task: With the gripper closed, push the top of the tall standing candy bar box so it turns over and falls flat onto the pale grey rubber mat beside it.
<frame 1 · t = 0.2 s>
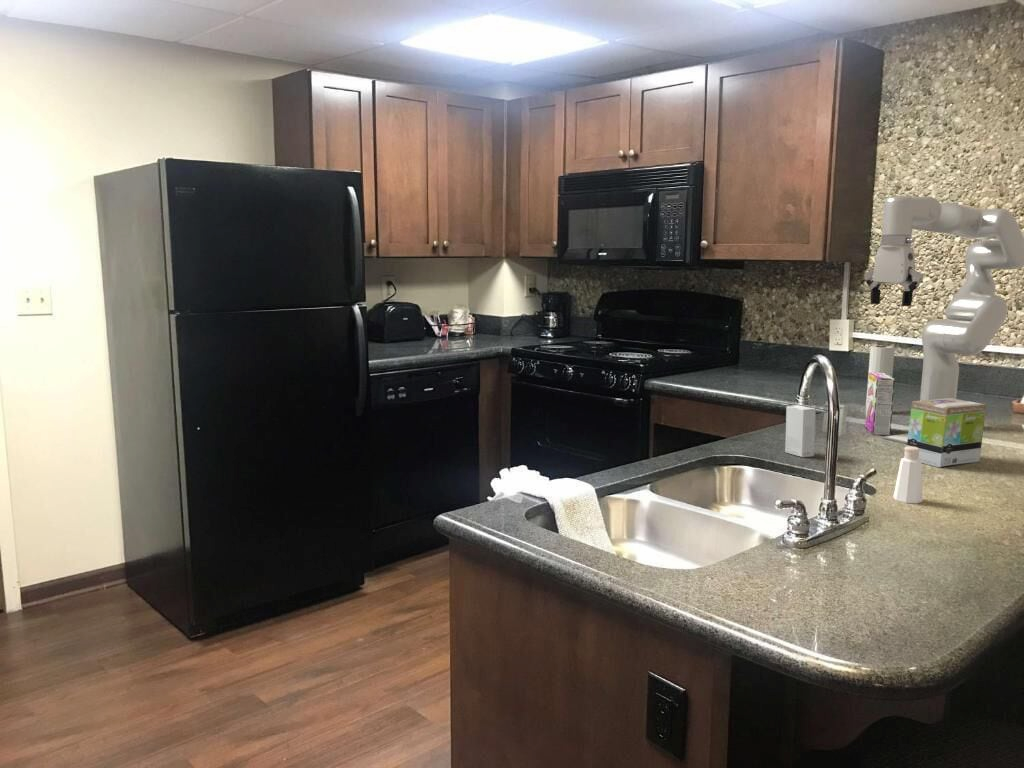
hand: (890, 304, 227), 36 cm above the counter, tool pointing down, fingers open, 9 cm apart
pepper shaker: (907, 500, 168), on the counter
skincare box: (798, 455, 206), on the counter
tea box: (942, 461, 201), on the counter
mat: (923, 442, 221), on the counter
paper towel roll: (877, 412, 264), on the counter
candy bar box: (876, 432, 234), on the counter
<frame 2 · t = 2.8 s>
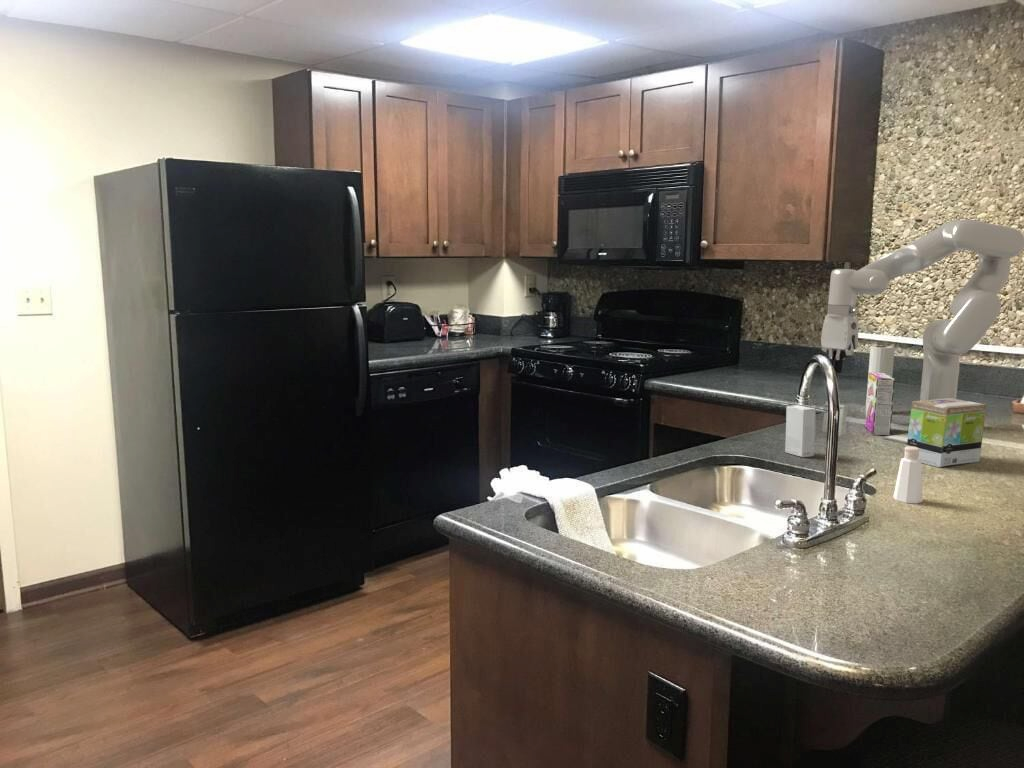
hand: (835, 372, 245), 15 cm above the counter, tool pointing down, fingers closed
nothing on the counter moved.
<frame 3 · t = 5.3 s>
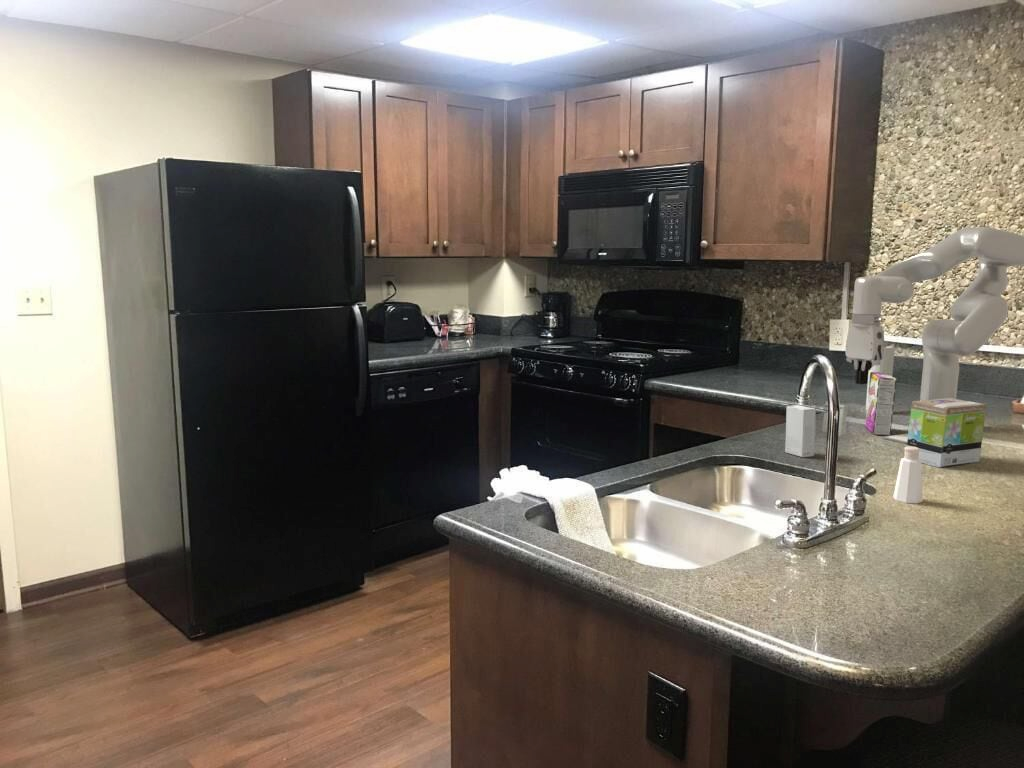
hand: (861, 383, 237), 13 cm above the counter, tool pointing down, fingers closed
nothing on the counter moved.
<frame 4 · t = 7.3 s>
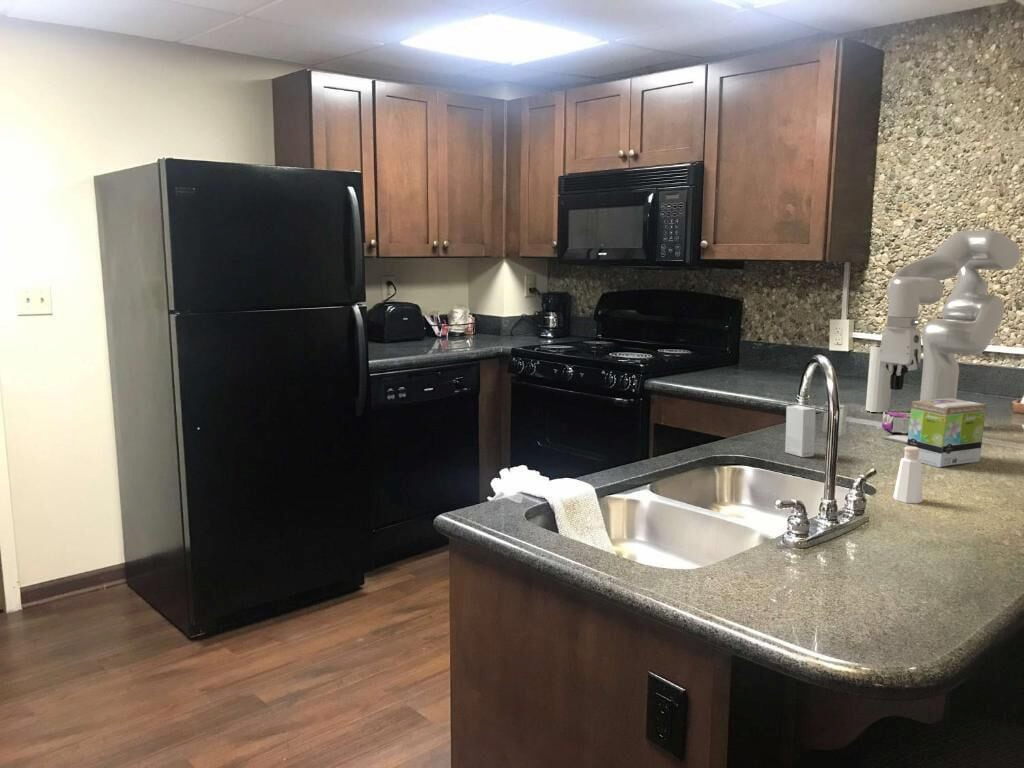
hand: (896, 389, 228), 13 cm above the counter, tool pointing down, fingers closed
candy bar box: (886, 421, 233), point 3 cm above the counter, touching mat
everything else where it was.
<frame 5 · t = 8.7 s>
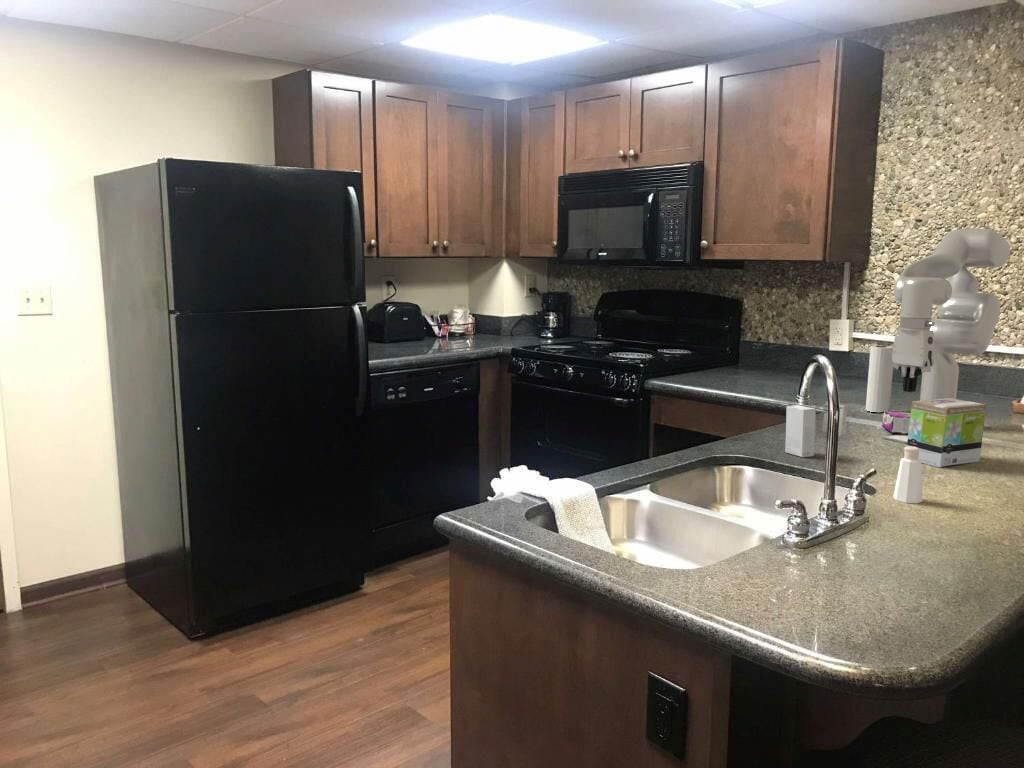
hand: (909, 391, 224), 13 cm above the counter, tool pointing down, fingers closed
nothing on the counter moved.
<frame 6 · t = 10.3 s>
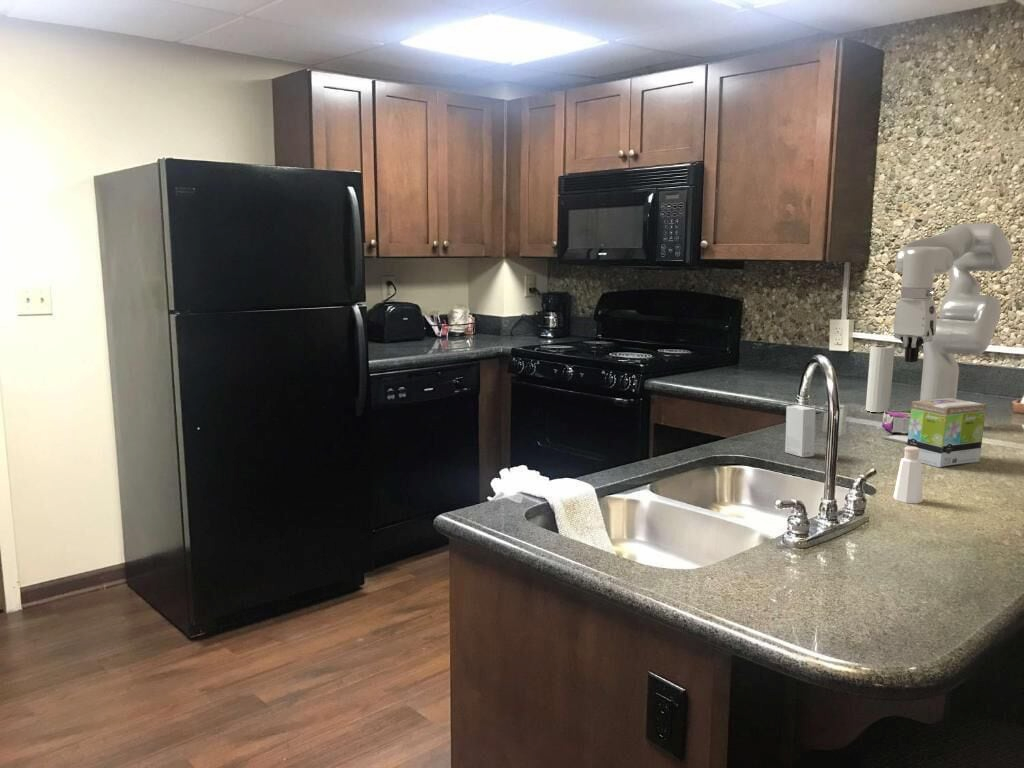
hand: (911, 361, 224), 21 cm above the counter, tool pointing down, fingers closed
nothing on the counter moved.
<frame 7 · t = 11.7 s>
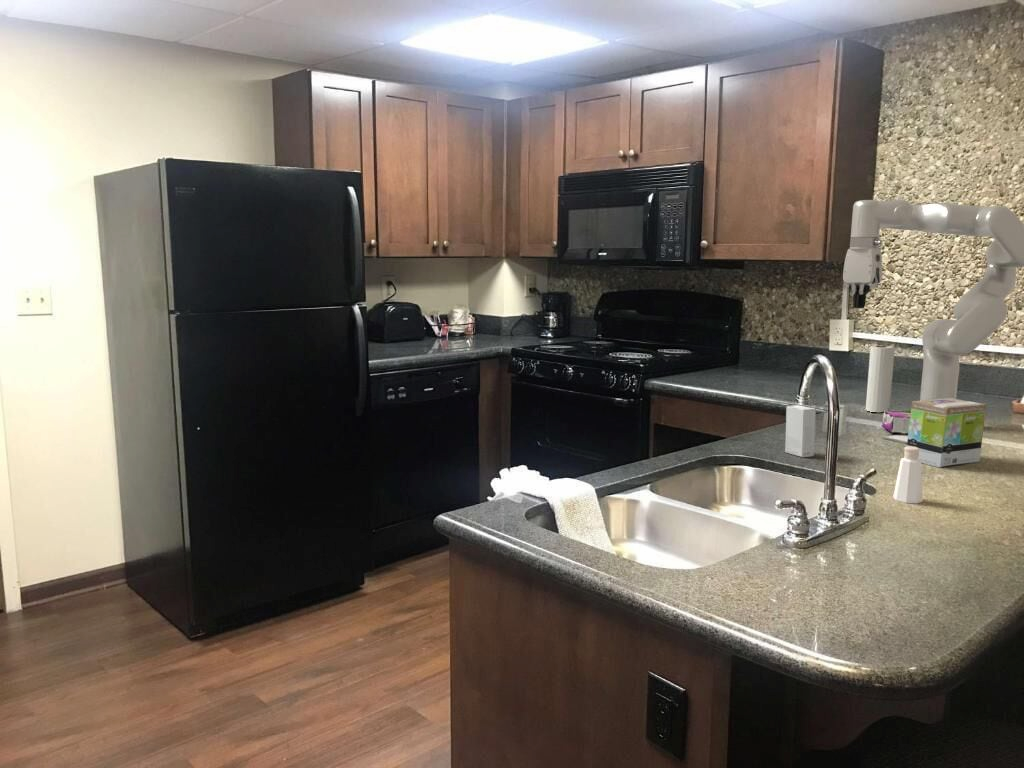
hand: (858, 307, 238), 35 cm above the counter, tool pointing down, fingers closed
nothing on the counter moved.
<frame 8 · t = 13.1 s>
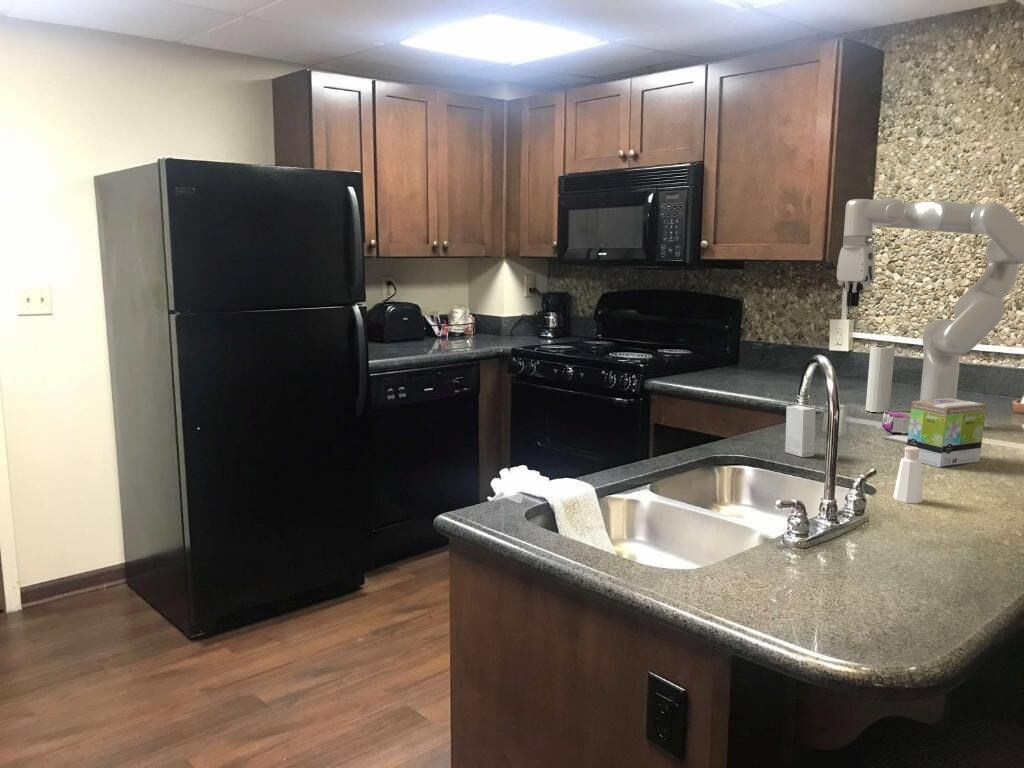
hand: (852, 305, 241), 35 cm above the counter, tool pointing down, fingers closed
nothing on the counter moved.
at the end: candy bar box tilted 92°; candy bar box inside the target area (6.1 cm from its centre), point 3.2 cm above the counter; the gripper is holding nothing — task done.
